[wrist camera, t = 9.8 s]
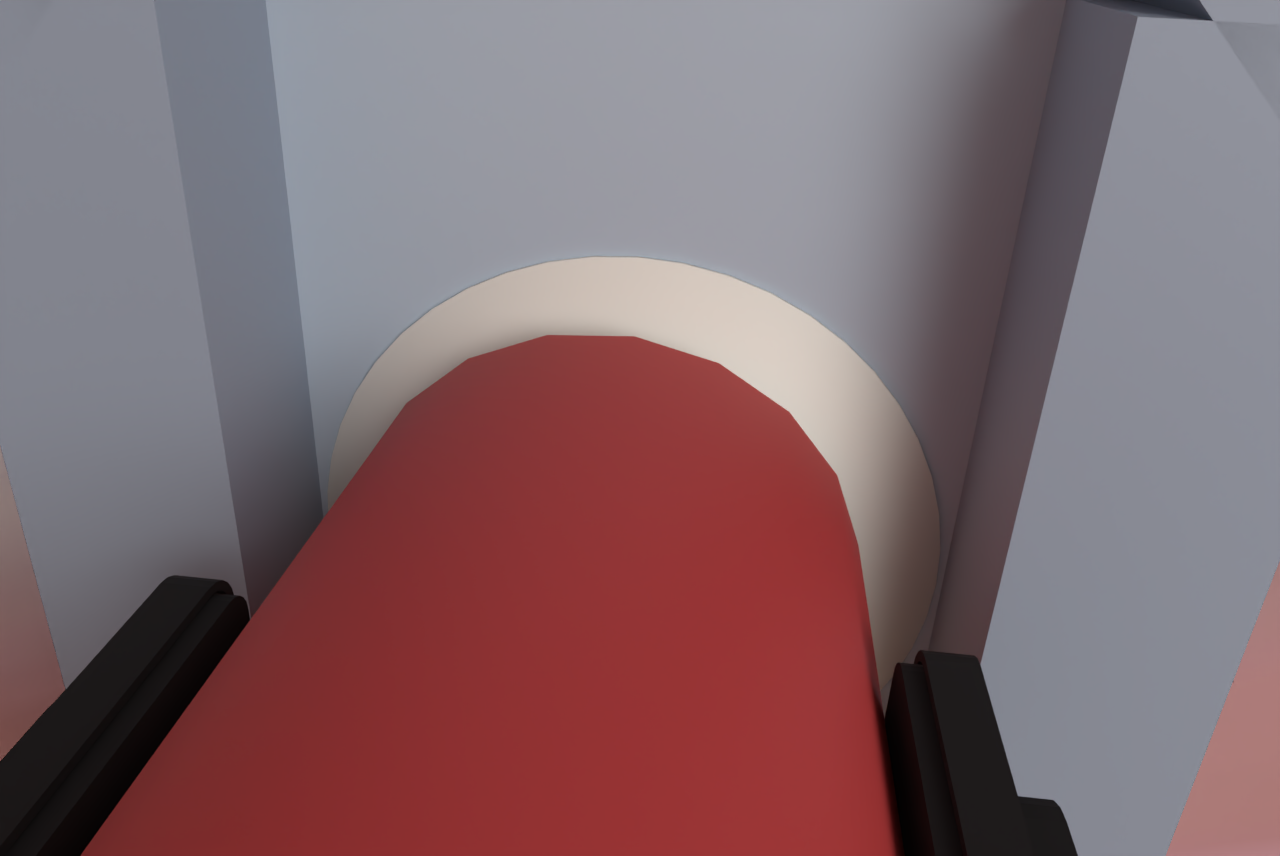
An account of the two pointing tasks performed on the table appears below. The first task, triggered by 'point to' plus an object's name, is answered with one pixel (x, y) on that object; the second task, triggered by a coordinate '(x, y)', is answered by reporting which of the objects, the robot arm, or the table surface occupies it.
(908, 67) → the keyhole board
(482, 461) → the beer can
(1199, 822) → the table surface
